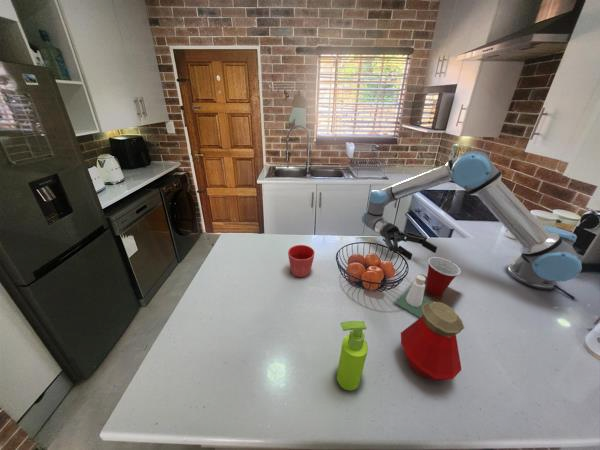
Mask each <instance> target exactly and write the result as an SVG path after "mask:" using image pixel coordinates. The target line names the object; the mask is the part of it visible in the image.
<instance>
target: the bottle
mask: <svg viewBox="0 0 600 450" xmlns="http://www.w3.org/2000/svg"><path fill="white" fill-rule="evenodd" d="M422 312H423V316H422V317H421V318H418V319H417V320H415V321H414V322H412V323H411V324H410V325H409V326H407V327H405V328H404V329H403V330H402V331H401V332H400V342H401V347H402V349H403V353H404V356H405V359H406V361H407V363H408V365H409V368H410V369H411V370H412V371H413V372H414V373H415V374H416V375H417V376H419V377H420V378H422V379H423V380H424V381H428V382H429V381H430V382H439V381H449V380H454V379H455V378H456V377H457V375H459V373H460V372H461V371H462V365H461V364H462V363H461V358H460V352H459V345H458V339H457V335H458V334H459V333H461V332H462V331H463V330H465V326H464V323H463V320H462V319H461V318H460V316H459V315H458V313H456V311H455V310H454V309H453V308H452V307H451V308H450V307H449V306H448V305H446V304H443V303H441V302H436V301H433V302H426V303H425V304H423V305H422Z"/></svg>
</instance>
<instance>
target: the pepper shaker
mask: <svg viewBox="0 0 600 450" xmlns="http://www.w3.org/2000/svg"><path fill="white" fill-rule="evenodd" d="M424 276H425V275H417V276H416V279H415V280H414V281H412V284H411V286H410V290H409V289H408V290H409V293H408V295H407V297H406V301H407V303H408V304H410V305H411V306H414V307H419V306H420V305H422V301H423V297H424V296H425V295H424V290H425V284H424V282H425V280H426V278H425V277H426V276H425V277H424Z"/></svg>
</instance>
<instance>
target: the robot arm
mask: <svg viewBox="0 0 600 450" xmlns="http://www.w3.org/2000/svg"><path fill="white" fill-rule="evenodd" d="M502 177H503V173H502V172H501V171H500V170H499V169H498V168H497V167H496V166H495V165H494V164H493V162H492V159H491V156H490V155H489V154H488V153H487V152H486V151H484V150H480V149H470V150H466V151H465V152H463V153H462V154H460V155H457V156H456V157H453V158H451V159H449V160H447V161H446V164H442V165H440V166H438V167H436V168H433V169H430V170H428V171H426V172H423V173H420V174H418V175H416V176H413V177H411V178H408V179H405V180H403V181H401V182H398V183H395V184H392V185H391V186H387V187H384V188H382V189H374V190H371V192H370V194H369V199H368V207H367V211H364V213H362V215H361V223H362V224H364V225H365V227H367V228H369V229H371V230H372V231H374V232H375V233H376V234H378V235H379V236H381V237H382V241H383V242H384V243H385V245H386V247H387V250H388V251H389V252H393V254H398V253H399V255H401V256H402V257H404V258H406V259H407V260H409V261H412V257H413V253H412V252H410V251H409V250H407V249H406V248H404V247H403V246H401V245H399V243H400V242H405V243H407V242H410V243H414V244H419V245H421V246H422V247H423V248H425V249H427V250H428V251H430V252H432V253H433V254H436V253H437V249H438V246H436V245H434V244H433V243H432V242H430V241H427V240H428V237H427V236H424V235H421V234H417V233H415V232H413V231H412V232H411V231H409V230H407V229H405V230H404V232H403V231H401V230H400V229H399V227H398V226H397V225H395V224H394V223H392V222H390V221H389V220H387V219H385V218H384V216H383V215H384V212H385V207H386V206H387V205H389V204H390V203H392V202H394V201H397V200H400V199H403V198H405V197H408V196H411V195H414V194H418V193H420V192H423V191H425V190H428V189H432V188H434V187H437V186H441V185H443V184H446V183H449V182H451V181H453V182H454V183H455V184H456V185H457V186H458V187H461V188H463V190H465V191H466V193H468V195H469V196H476V197H477V198H478V199H479V200H480V201H481V202H482V203H483V205H485V207H486V208H487V209H488V210H489V211H490V212H491V213H492V214H493V216H494V217H495V218H496V219H497V220H498V221H499V222H500V223H501V224H502V225H503V227H504V228H505V229H506V230H507V231H508V232H509V233H510V234H511V236H513V238H514V239H515V240H516V241H517V242H518V244H519V245H521V246H520V248H519V249H520V252H521V255H520V256H519V257H518V258H516V259H514V260H513V261H511V263H510V264H509V266H508V267H507V271H506V272H507V273H508V275H509V276H511V278H513V279H514V280H516V281H517V282H519V283H521V284H523V285H525V286H527V287H531V288H534V289H538V290H544V291H545V290H546V291H548V290H552V289H554V288H555V289H557V290H558V291H560V292H562V293H563V294H565V295H567V296H568V297H569V298H571V299H573V300H574V299H575V298H576V297H575V296H574V295H572V294H571V293H569V292H567V291H566V290H564V289H562V288H561V287H559V286H557V285H556V284H557V283H558V282H567V281H570V280H573V279H575V278H576V277H578V276H579V275H580V274H581V272H582V269H583V266H582V260H581V259H580V257H579V256H578V254H577V252H576V250H575V248H574V247H573V246H574V244H575V243H576V241H577V239H578V236H577V235H576V234H575V233H574V232H571V231H568V230H566V229H563V228H559V227H555V226H550V225H543V224H541V222H540V221H539V220H538V219H537V218H536V216H535V215H533V214H532V212H530V210H529V209H528V208H527V207H526V206H525V205H524V204H523V203H522V202H521V201H520V199H518V197H517V196H516V195H515V194H514V193H513V192H512V191H511V189H509V188H508V186H507V185H505V183H504V182H503V181H502Z"/></svg>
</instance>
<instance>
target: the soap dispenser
mask: <svg viewBox="0 0 600 450" xmlns="http://www.w3.org/2000/svg"><path fill="white" fill-rule="evenodd" d="M340 327H341V330H342V331H343V332H346V331H349V334H348V335H345V336H344V338H343V339H342V343H341V349H340V354H339V361H338V367H337V373H336V381H337V383H338V385H339V386H340V387H341V388H342V389H344V390H346V391H349V392H350V391H355V390H356V389H358V388H359V386H360V383H361V381H362V375H363V371H364V367H365V363H366V358H367V354H368V351H369V346H368V343H367V341H366V340H365V337H366V335H365V332H364V331H363V330H365V331H366V330H367V326H366V323H365V320H347V321H342V322H340Z"/></svg>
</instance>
